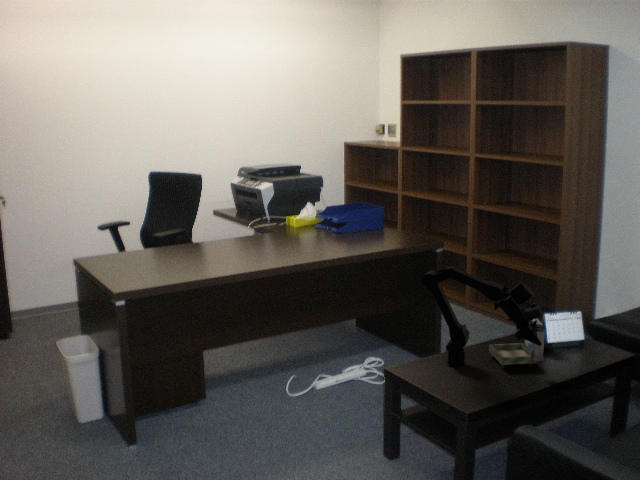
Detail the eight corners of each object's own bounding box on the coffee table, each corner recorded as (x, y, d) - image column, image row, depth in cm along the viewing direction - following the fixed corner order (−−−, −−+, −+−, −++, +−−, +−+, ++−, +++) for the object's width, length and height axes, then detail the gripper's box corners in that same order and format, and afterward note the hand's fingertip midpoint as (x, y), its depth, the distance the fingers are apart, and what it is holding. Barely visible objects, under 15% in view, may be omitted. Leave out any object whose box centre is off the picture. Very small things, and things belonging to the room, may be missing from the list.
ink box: (542, 351, 274) (543, 324, 271) (530, 351, 274) (531, 324, 272) (535, 343, 282) (537, 317, 280) (524, 343, 282) (525, 317, 280)
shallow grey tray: (501, 370, 256) (502, 357, 254) (488, 356, 269) (489, 344, 268) (535, 368, 257) (536, 356, 256) (521, 354, 271) (522, 343, 269)
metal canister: (533, 361, 246) (535, 328, 244) (528, 356, 251) (530, 324, 248) (545, 360, 247) (547, 328, 244) (539, 356, 251) (542, 324, 248)
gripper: (526, 306, 237) (556, 339, 235) (532, 292, 254) (560, 323, 252) (503, 323, 242) (532, 356, 240) (510, 308, 259) (538, 339, 256)
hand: (541, 343), depth 247 cm, fingers closed on metal canister, 4 cm apart
